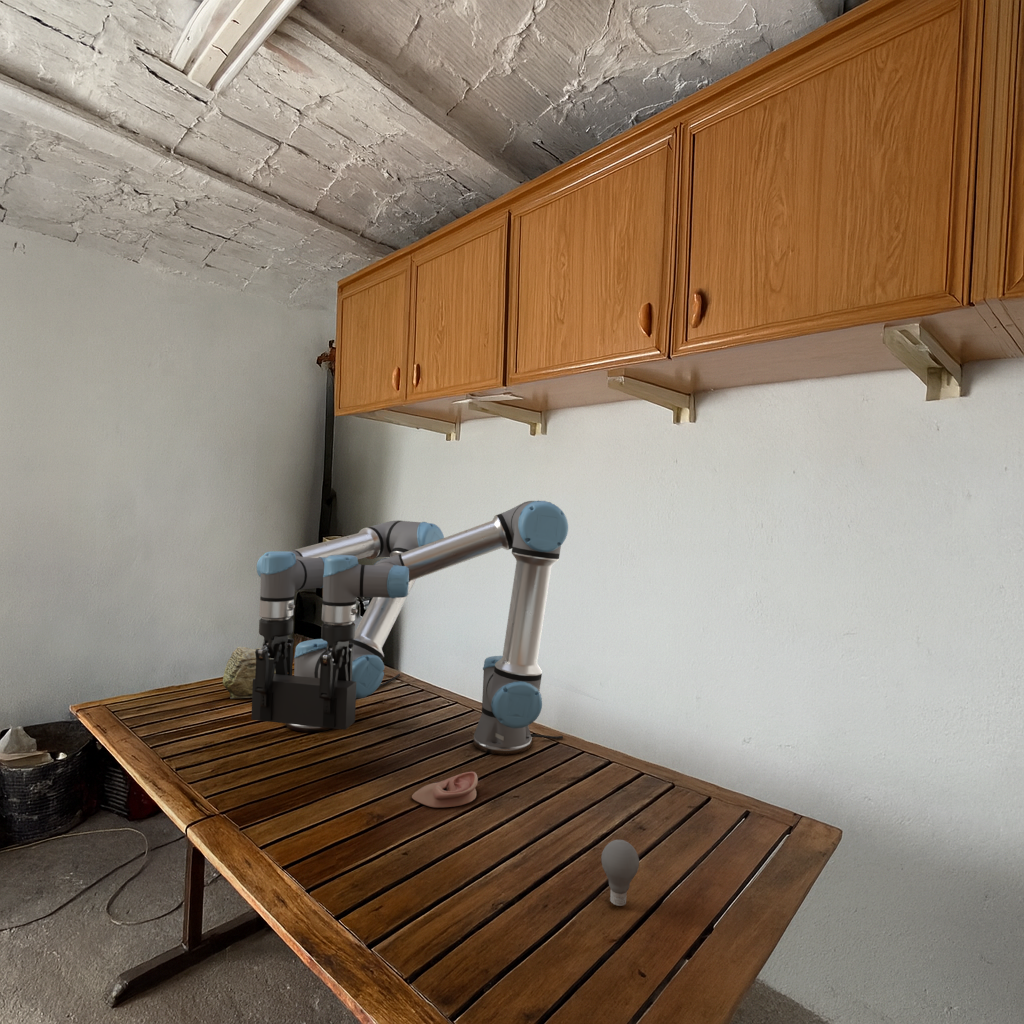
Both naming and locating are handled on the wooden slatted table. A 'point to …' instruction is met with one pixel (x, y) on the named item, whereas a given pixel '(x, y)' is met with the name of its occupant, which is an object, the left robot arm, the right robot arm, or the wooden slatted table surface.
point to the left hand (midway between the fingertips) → (272, 715)
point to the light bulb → (619, 868)
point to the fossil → (240, 673)
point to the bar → (306, 702)
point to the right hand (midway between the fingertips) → (334, 721)
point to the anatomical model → (449, 791)
